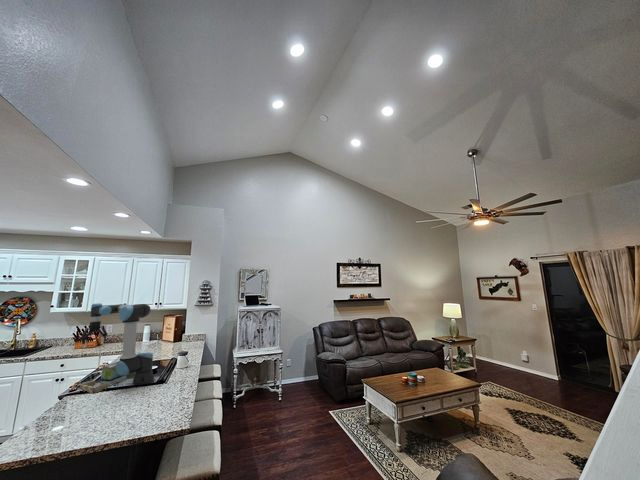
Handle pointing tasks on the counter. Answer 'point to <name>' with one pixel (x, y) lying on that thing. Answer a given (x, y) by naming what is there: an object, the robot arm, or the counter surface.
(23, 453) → the counter surface
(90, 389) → the bay
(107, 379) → the tea box
